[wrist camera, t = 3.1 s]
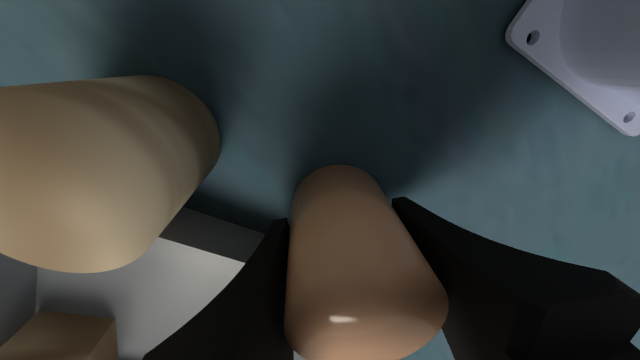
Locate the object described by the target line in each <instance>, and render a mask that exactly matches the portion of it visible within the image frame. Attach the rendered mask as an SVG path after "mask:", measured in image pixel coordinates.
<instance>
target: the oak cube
mask: <svg viewBox="0 0 640 360" xmlns="http://www.w3.org/2000/svg"><path fill="white" fill-rule="evenodd" d="M117 356H118V345H117V332H116V319H115V318H106V317H97V316H88V315H78V314H69V313H60V312H51V311H41V310H39V311H38V312H37V313H36V314H35V315H34V316H33V317H32V318H31V319H30V320H29V321H27V322H26V323H25V324H24V325H23V326H22V327H21V328H20V329H19V330H18V331H17V332H16V333H15V334H14V335H13V336H12V337H11V338H10V339H9V340H8V341H7V342H6V343H5V344H3V345H2V346H1V347H0V360H116V358H117Z"/></svg>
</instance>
